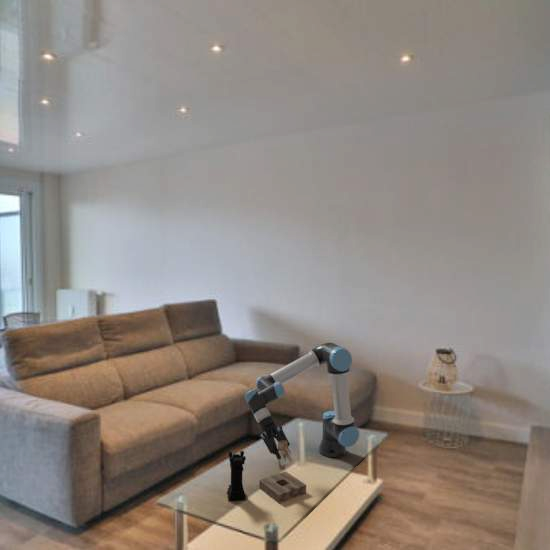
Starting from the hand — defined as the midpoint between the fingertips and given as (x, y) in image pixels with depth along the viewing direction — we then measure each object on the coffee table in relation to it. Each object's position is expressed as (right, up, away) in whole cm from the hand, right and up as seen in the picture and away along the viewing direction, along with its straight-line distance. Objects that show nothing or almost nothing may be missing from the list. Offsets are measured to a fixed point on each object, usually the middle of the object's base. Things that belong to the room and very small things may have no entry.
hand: (288, 463), depth 225 cm
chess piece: (-24, -15, -2) cm, 29 cm away
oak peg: (-3, -4, +3) cm, 6 cm away
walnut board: (-3, -15, +4) cm, 15 cm away
